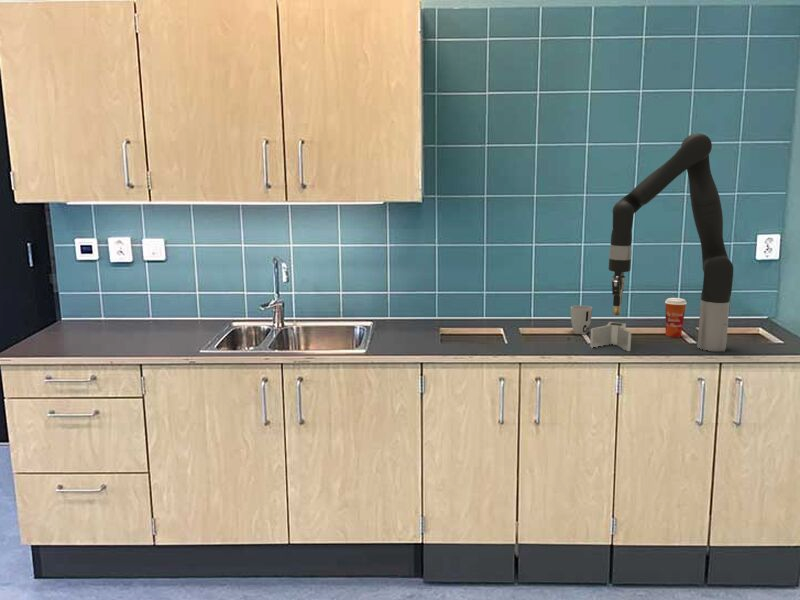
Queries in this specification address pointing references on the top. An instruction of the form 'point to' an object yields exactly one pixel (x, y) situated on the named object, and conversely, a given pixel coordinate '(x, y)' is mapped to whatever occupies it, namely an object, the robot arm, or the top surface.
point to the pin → (616, 308)
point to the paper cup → (674, 316)
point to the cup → (581, 318)
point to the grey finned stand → (611, 336)
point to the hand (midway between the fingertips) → (617, 305)
